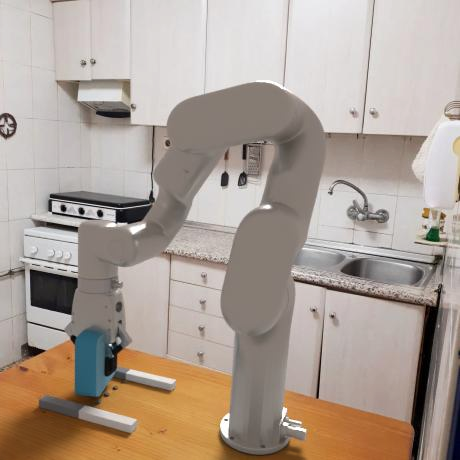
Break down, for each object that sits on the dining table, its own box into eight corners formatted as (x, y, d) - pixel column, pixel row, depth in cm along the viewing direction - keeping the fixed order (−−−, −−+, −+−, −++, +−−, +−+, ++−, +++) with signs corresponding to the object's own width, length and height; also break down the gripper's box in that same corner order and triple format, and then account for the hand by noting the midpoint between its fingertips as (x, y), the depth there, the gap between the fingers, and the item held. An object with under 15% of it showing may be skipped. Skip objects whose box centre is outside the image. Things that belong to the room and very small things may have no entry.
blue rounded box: (96, 368, 99) (97, 315, 97) (117, 370, 99) (118, 317, 97) (74, 398, 88) (74, 338, 86) (97, 400, 87) (97, 340, 85)
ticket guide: (175, 386, 98) (176, 379, 98) (131, 433, 81) (131, 425, 81) (95, 367, 104) (95, 361, 104) (38, 407, 87) (38, 399, 87)
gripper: (146, 285, 91) (144, 371, 94) (73, 273, 96) (73, 354, 99) (126, 295, 84) (124, 388, 87) (48, 282, 89) (49, 369, 92)
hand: (97, 369), depth 93 cm, fingers closed on blue rounded box, 5 cm apart
